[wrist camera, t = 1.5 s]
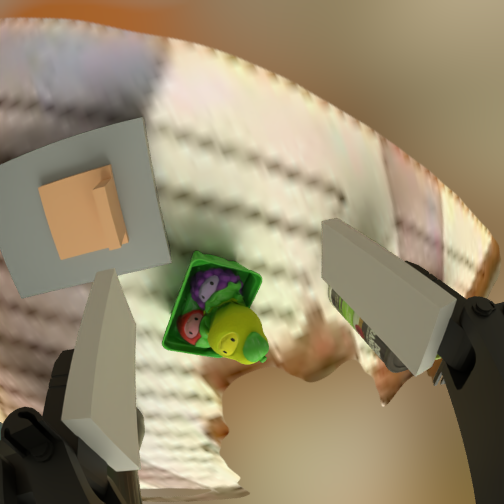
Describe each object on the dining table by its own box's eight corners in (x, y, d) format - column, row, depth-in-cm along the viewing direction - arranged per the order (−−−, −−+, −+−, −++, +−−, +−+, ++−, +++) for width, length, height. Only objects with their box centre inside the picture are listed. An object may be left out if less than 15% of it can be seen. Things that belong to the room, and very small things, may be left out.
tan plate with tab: (129, 239, 26) (124, 260, 22) (63, 256, 24) (50, 278, 21) (110, 164, 23) (101, 172, 19) (41, 185, 21) (22, 198, 17)
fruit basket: (187, 235, 31) (202, 293, 21) (260, 257, 34) (301, 314, 25) (158, 320, 34) (164, 392, 24) (224, 333, 38) (248, 400, 28)
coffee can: (335, 322, 43) (388, 385, 31) (320, 272, 38) (385, 338, 26) (388, 288, 44) (447, 339, 32) (380, 236, 39) (454, 284, 27)
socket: (170, 250, 31) (171, 262, 28) (29, 284, 27) (21, 298, 24) (144, 117, 24) (142, 117, 22) (-9, 170, 21) (-22, 175, 18)
